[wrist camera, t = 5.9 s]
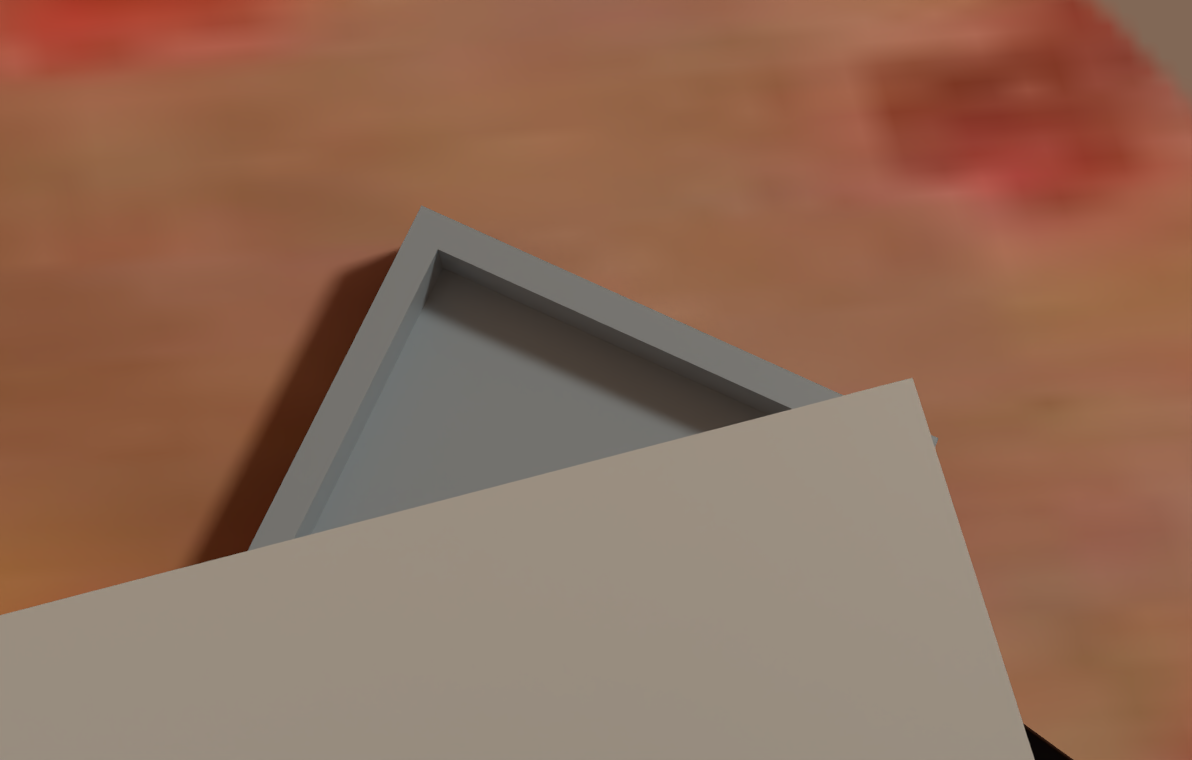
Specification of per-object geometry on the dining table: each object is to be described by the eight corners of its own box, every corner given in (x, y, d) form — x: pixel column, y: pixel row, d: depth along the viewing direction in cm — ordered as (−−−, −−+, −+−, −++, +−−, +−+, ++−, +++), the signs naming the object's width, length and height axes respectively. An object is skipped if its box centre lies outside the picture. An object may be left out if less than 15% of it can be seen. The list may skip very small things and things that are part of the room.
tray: (609, 1203, 18) (618, 1272, 16) (71, 956, 18) (22, 997, 16) (902, 449, 21) (938, 437, 19) (430, 236, 21) (421, 205, 19)
